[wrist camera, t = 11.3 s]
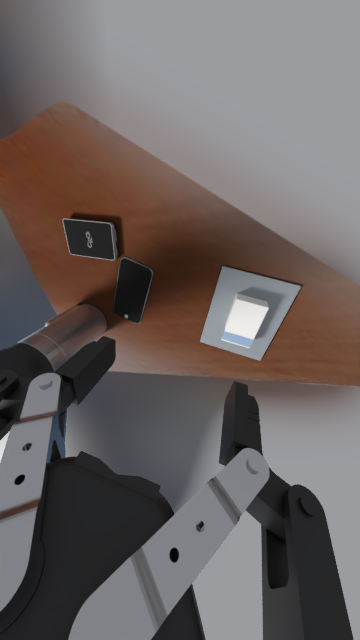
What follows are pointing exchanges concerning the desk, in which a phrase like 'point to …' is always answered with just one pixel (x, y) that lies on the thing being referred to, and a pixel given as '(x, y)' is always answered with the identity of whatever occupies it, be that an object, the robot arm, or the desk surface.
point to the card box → (244, 320)
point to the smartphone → (132, 289)
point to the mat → (255, 287)
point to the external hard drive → (91, 238)
